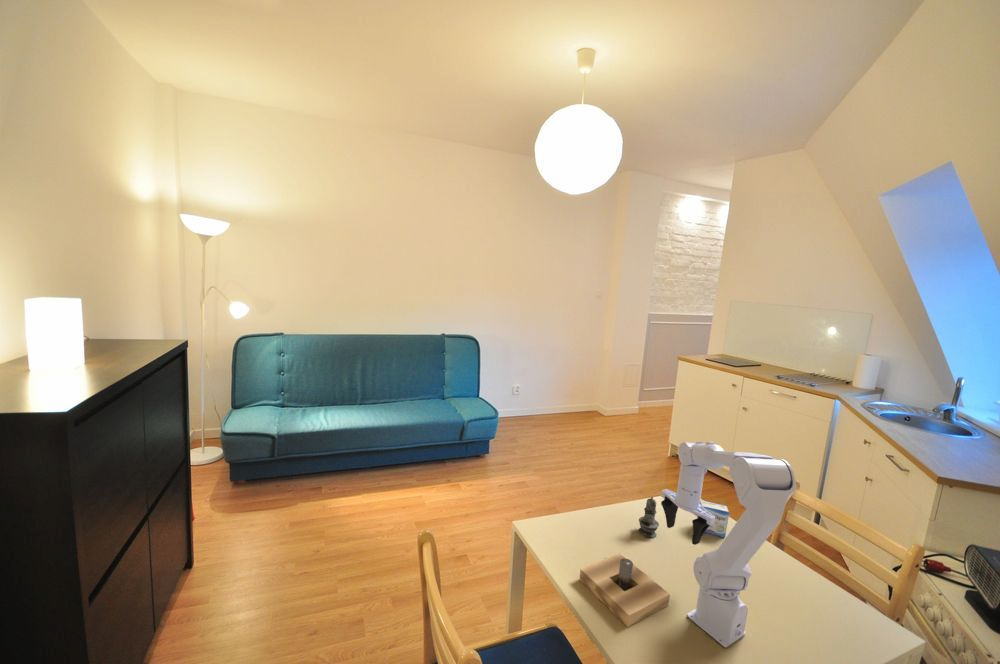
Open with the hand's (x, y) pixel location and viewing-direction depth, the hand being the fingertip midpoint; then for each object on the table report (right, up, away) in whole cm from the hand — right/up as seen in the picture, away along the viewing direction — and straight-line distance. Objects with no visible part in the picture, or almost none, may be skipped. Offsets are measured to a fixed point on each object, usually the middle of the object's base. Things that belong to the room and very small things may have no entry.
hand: (682, 534), depth 110 cm
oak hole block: (-18, -10, -8) cm, 23 cm away
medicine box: (+18, -9, +21) cm, 29 cm away
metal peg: (-18, -10, -8) cm, 22 cm away
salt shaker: (-3, -8, +17) cm, 19 cm away
